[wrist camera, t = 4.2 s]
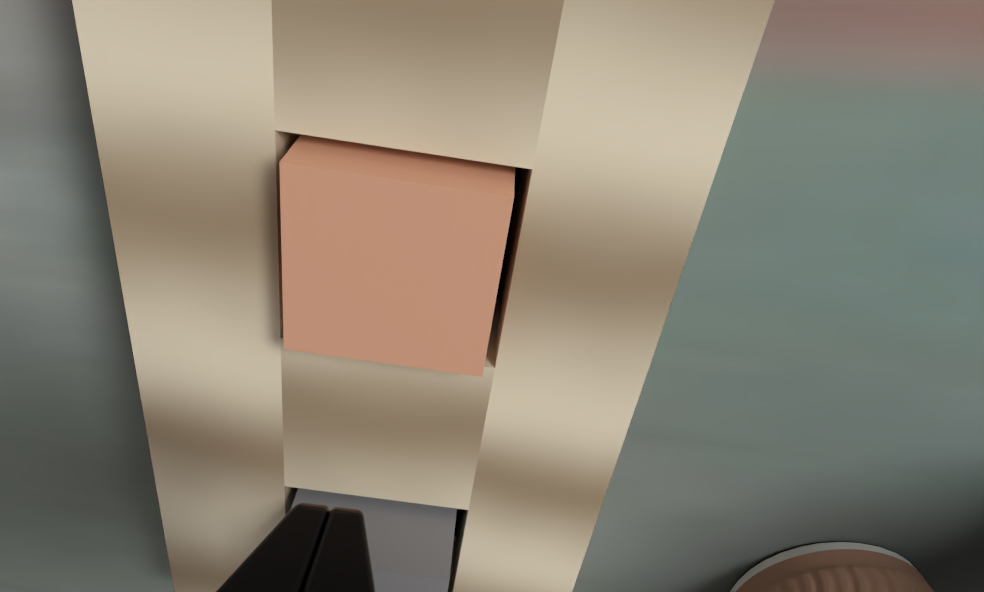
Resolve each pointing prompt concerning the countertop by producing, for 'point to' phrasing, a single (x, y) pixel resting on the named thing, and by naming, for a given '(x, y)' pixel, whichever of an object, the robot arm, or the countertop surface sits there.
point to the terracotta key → (391, 253)
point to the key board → (527, 274)
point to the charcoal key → (400, 539)
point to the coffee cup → (834, 571)
